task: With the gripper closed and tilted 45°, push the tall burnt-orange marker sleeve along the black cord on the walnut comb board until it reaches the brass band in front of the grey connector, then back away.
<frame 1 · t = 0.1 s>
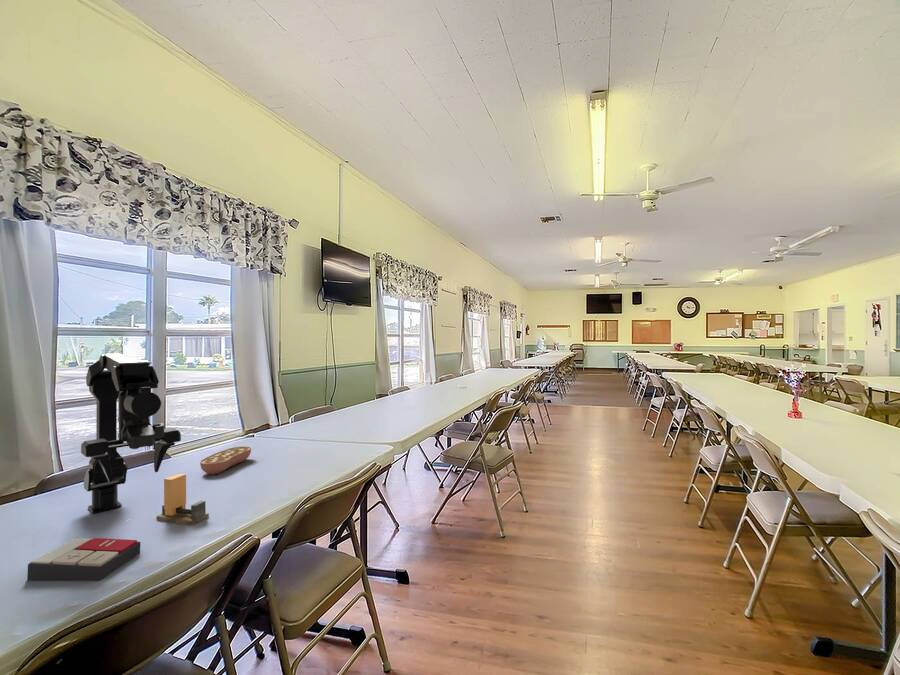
hand: (134, 476, 102), 15 cm above the table, tool pointing down, fingers open, 9 cm apart
sleeve: (175, 494, 114), point 6 cm above the table, slide at 0.0 cm
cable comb: (181, 518, 113), on the table
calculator: (87, 568, 90), on the table
anatomical model: (226, 468, 157), on the table
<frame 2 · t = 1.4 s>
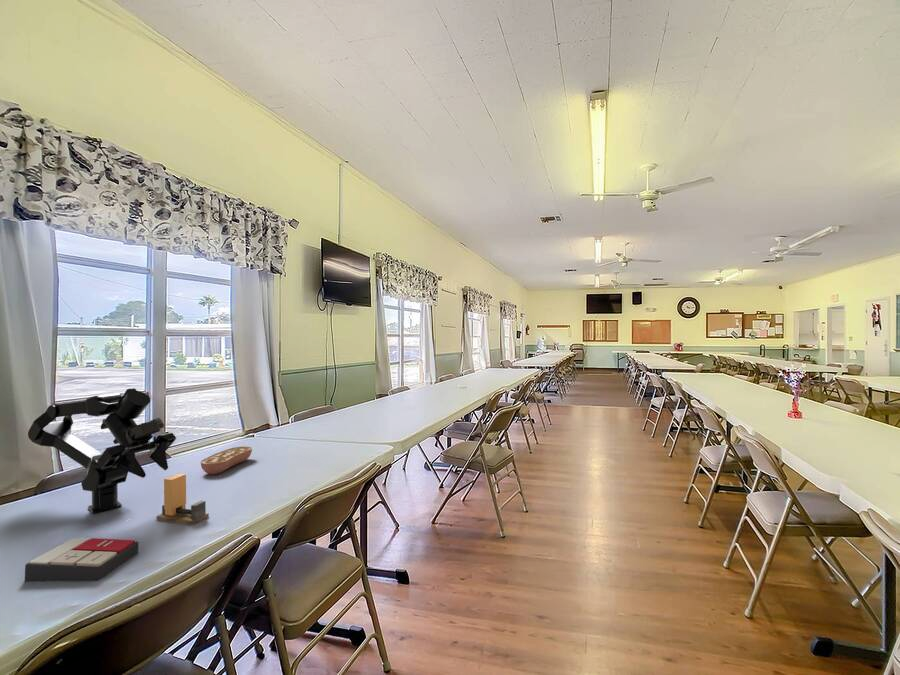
hand: (155, 472, 115), 12 cm above the table, tool tilted 45°, fingers open, 6 cm apart
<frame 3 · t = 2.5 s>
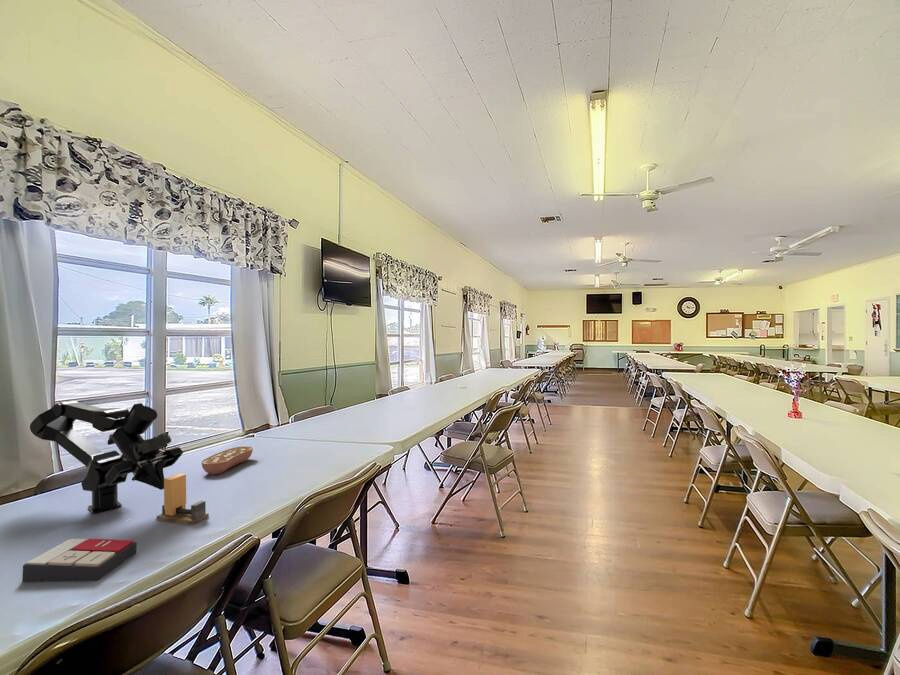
hand: (163, 488, 115), 7 cm above the table, tool tilted 45°, fingers closed
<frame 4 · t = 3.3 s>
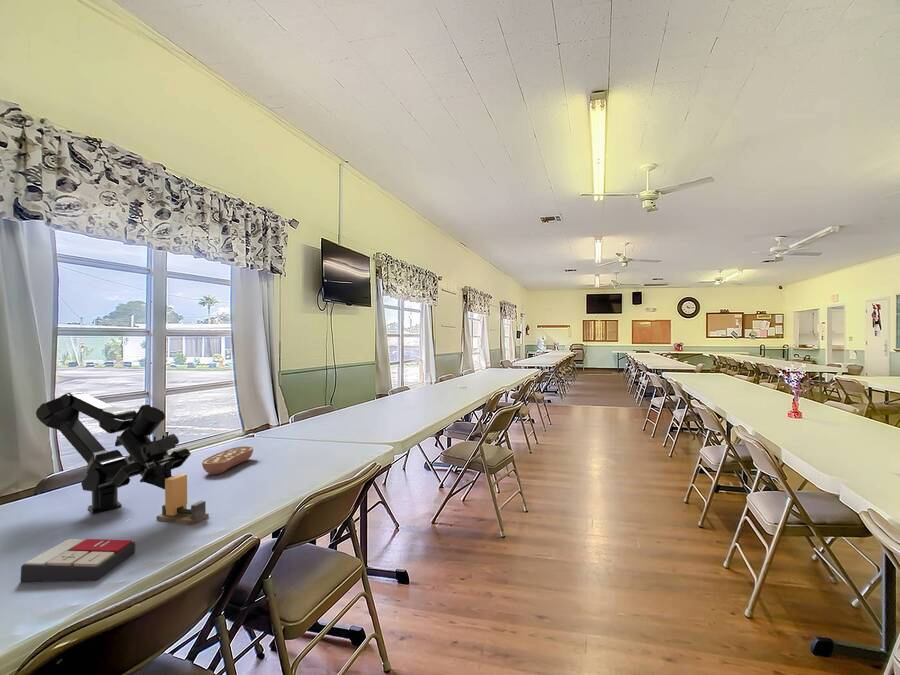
hand: (171, 489, 114), 7 cm above the table, tool tilted 45°, fingers closed, pressing on sleeve
sleeve: (176, 494, 113), point 6 cm above the table, slide at 0.4 cm, touching gripper
everything else where it was.
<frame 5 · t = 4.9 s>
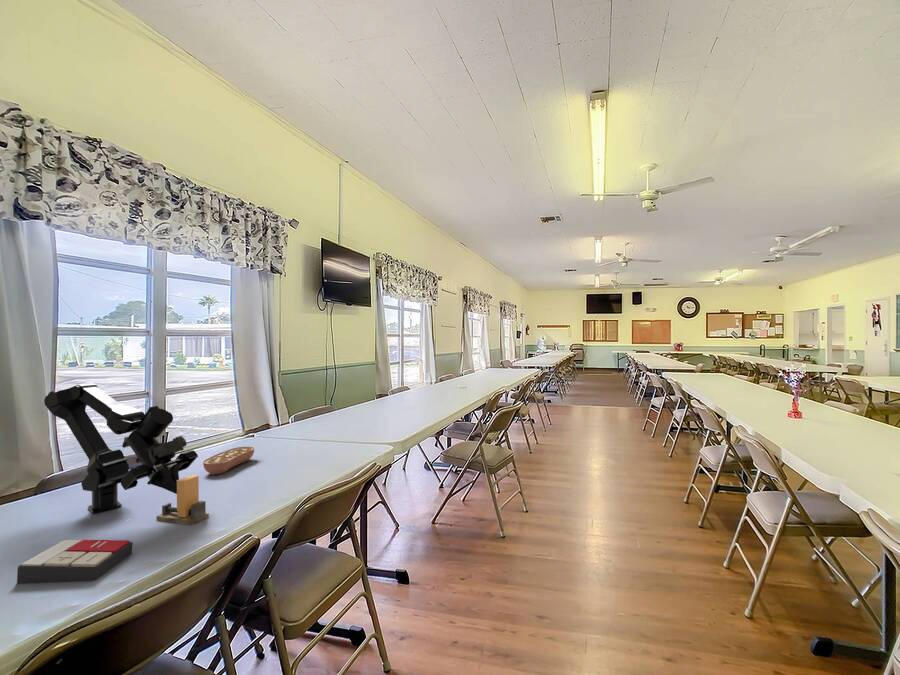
hand: (179, 492, 113), 7 cm above the table, tool tilted 45°, fingers closed
sleeve: (187, 495, 112), point 6 cm above the table, slide at 4.3 cm
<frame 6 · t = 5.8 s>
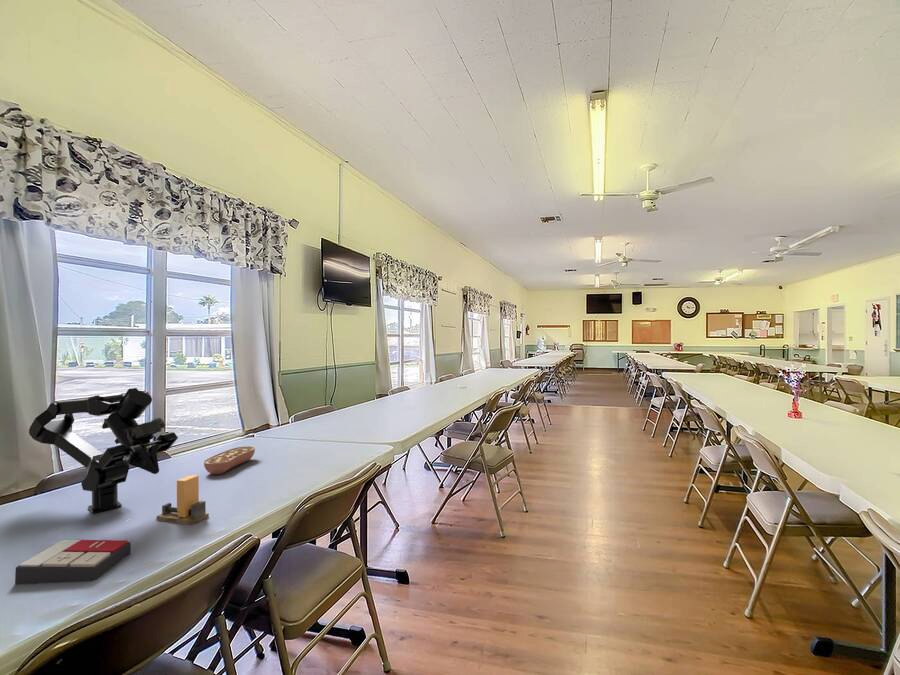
hand: (157, 472, 115), 12 cm above the table, tool tilted 45°, fingers closed
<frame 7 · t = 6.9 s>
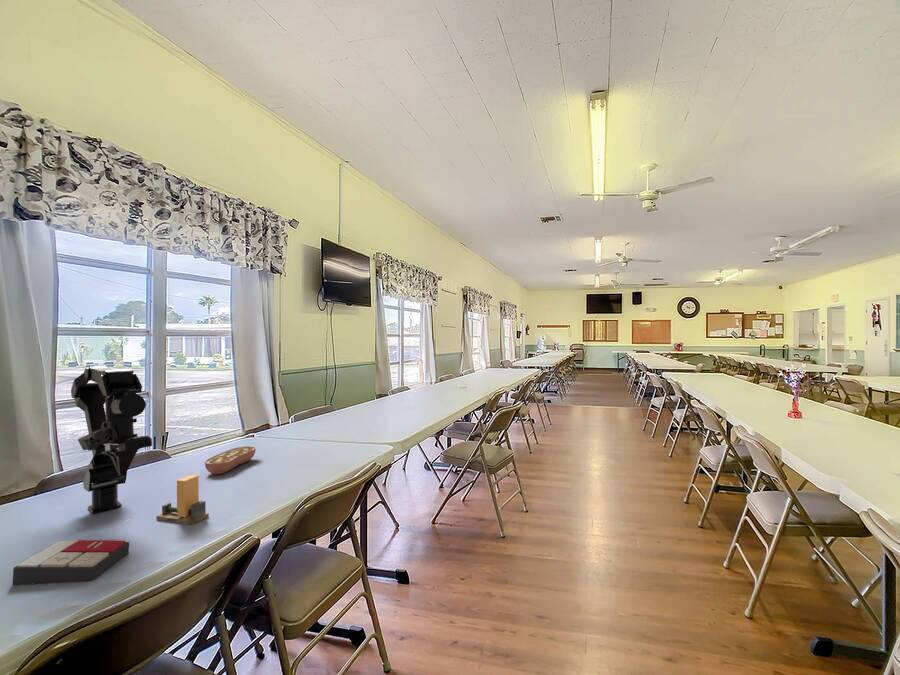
hand: (122, 475, 112), 12 cm above the table, tool pointing down, fingers closed
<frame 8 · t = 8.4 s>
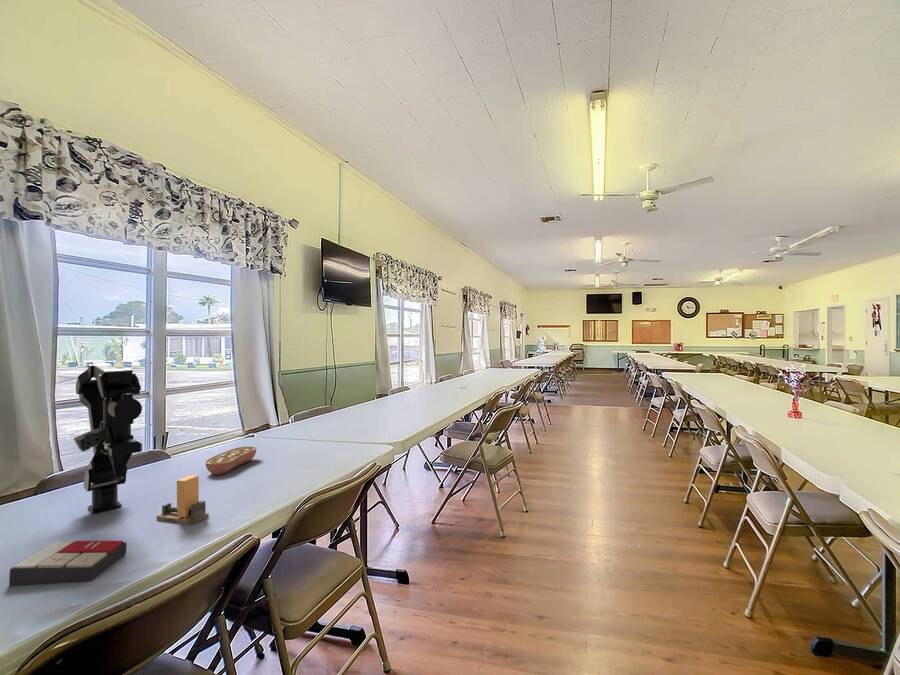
hand: (117, 475, 111), 12 cm above the table, tool pointing down, fingers closed
at the end: sleeve slide at 4.3 cm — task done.
